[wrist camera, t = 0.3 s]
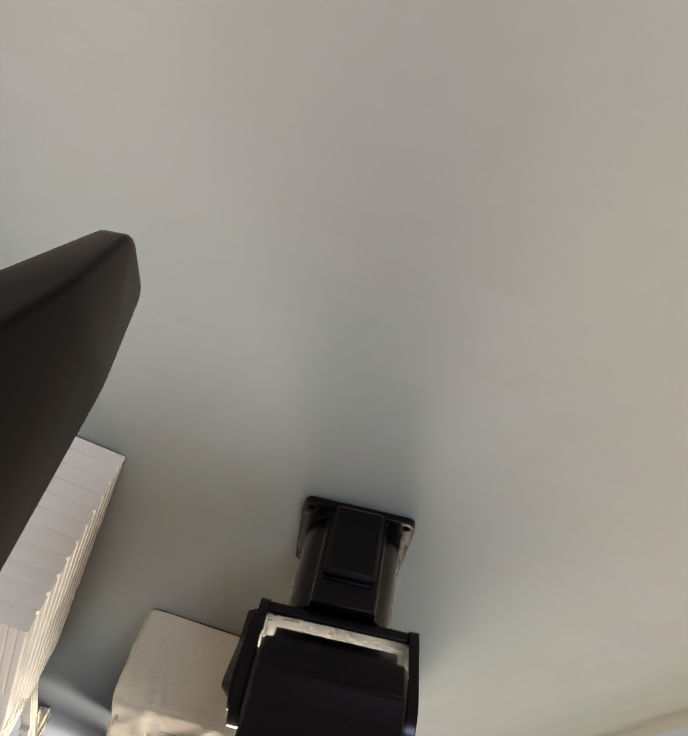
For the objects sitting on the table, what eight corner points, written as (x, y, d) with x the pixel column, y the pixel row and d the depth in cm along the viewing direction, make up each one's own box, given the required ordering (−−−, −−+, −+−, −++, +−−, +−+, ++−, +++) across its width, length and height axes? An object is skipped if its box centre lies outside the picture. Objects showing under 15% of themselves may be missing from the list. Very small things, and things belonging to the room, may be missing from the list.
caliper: (52, 712, 74) (24, 773, 70) (43, 710, 74) (14, 770, 70) (38, 645, 60) (1, 715, 56) (27, 642, 60) (-11, 712, 56)
